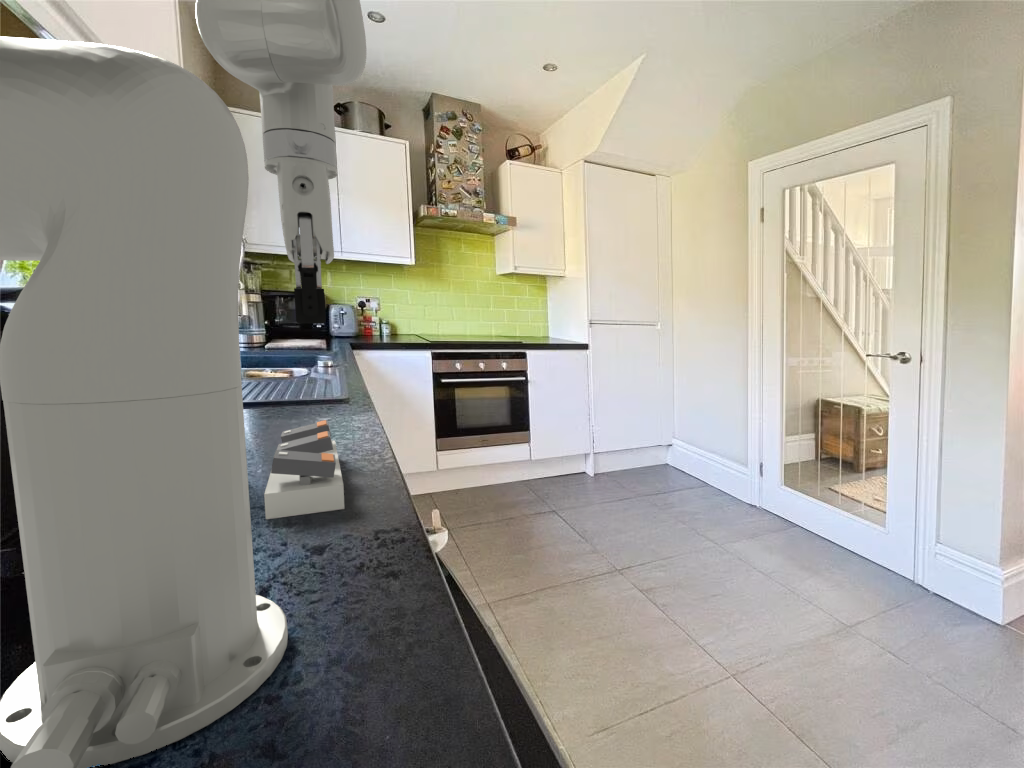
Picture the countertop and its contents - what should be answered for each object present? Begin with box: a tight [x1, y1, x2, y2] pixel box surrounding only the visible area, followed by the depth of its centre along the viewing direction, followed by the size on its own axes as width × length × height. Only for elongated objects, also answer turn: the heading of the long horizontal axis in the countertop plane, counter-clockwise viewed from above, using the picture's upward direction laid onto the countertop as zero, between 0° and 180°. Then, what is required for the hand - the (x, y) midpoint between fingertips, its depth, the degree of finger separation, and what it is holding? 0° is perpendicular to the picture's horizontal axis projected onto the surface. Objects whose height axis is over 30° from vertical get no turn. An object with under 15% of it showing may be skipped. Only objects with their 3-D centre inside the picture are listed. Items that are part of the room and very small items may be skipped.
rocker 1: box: [280, 419, 332, 443], centre depth 67 cm, size 4×6×2 cm, turn 112°
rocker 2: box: [276, 431, 333, 453], centre depth 59 cm, size 4×6×2 cm, turn 112°
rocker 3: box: [270, 449, 336, 478], centre depth 52 cm, size 4×6×2 cm, turn 112°
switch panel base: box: [264, 440, 345, 520], centre depth 60 cm, size 22×7×4 cm, turn 22°
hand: (311, 322), depth 57 cm, fingers closed
